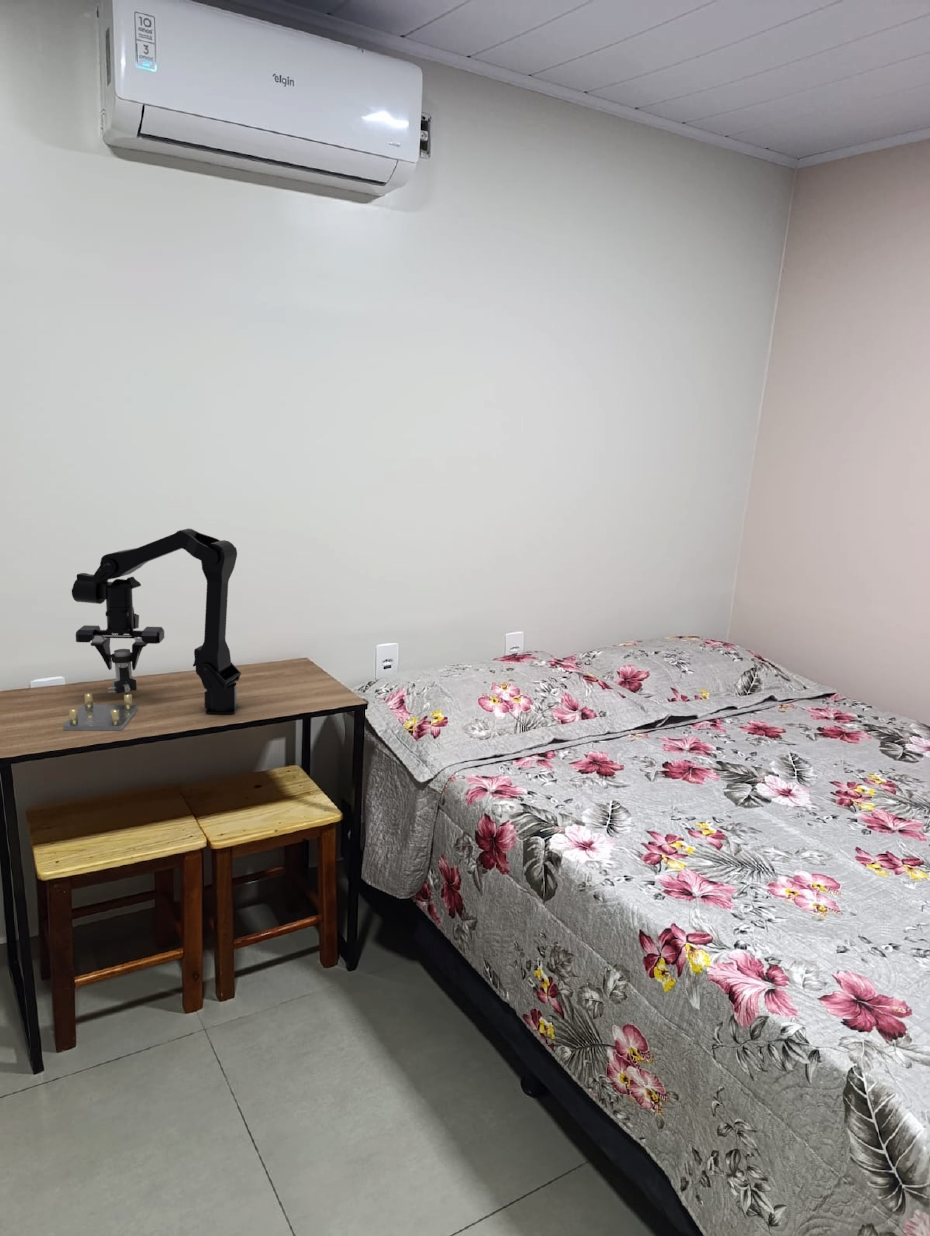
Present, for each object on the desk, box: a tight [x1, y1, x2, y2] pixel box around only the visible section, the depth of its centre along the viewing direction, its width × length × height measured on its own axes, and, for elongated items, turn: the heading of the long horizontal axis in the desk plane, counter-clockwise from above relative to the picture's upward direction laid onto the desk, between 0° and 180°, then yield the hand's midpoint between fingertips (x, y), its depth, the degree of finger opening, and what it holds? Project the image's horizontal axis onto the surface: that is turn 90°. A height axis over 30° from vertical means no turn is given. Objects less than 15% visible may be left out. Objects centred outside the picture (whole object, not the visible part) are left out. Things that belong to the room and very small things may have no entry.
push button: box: [107, 648, 138, 694], centre depth 203 cm, size 7×5×10 cm
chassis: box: [62, 692, 139, 732], centre depth 190 cm, size 12×14×4 cm
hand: (122, 669), depth 202 cm, fingers closed on push button, 5 cm apart
